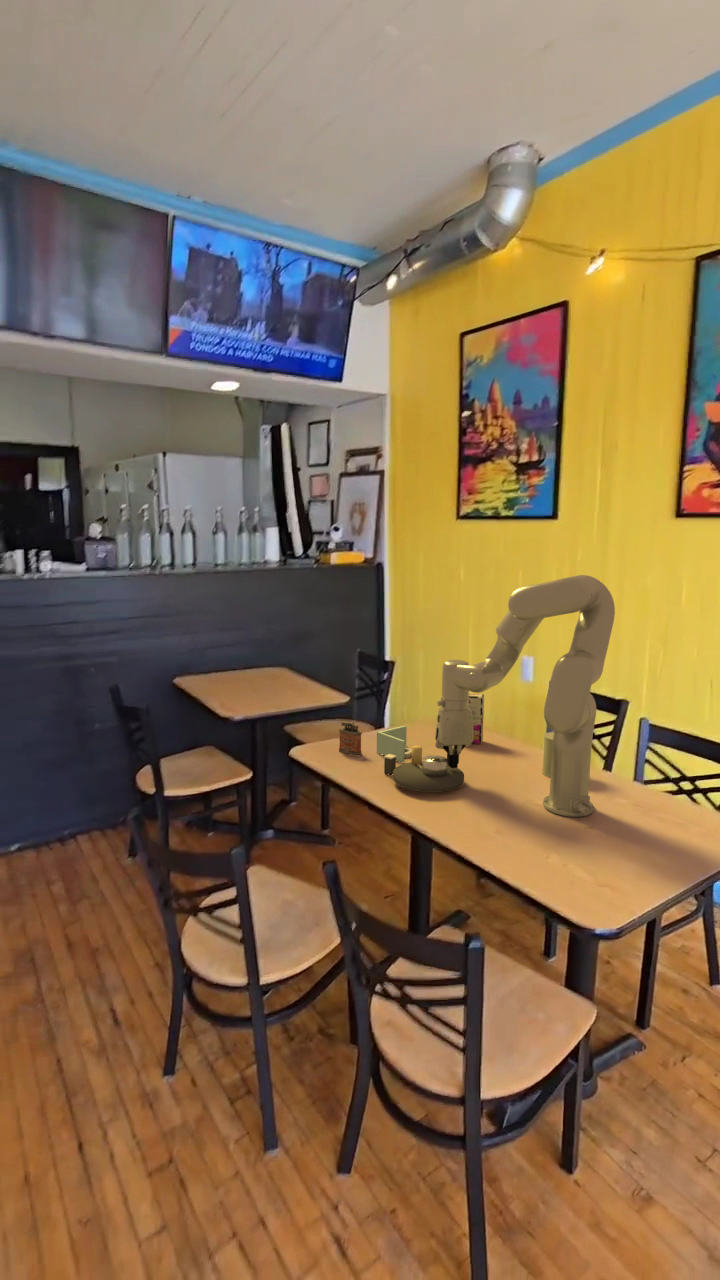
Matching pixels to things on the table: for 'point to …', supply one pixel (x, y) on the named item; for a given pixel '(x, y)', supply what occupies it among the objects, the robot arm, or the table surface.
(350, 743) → the lighter
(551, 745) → the can
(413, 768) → the turntable
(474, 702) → the candy bar box
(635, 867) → the table surface
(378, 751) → the l-shaped corner panel
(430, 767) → the cover
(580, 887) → the table surface
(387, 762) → the post
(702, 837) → the table surface
